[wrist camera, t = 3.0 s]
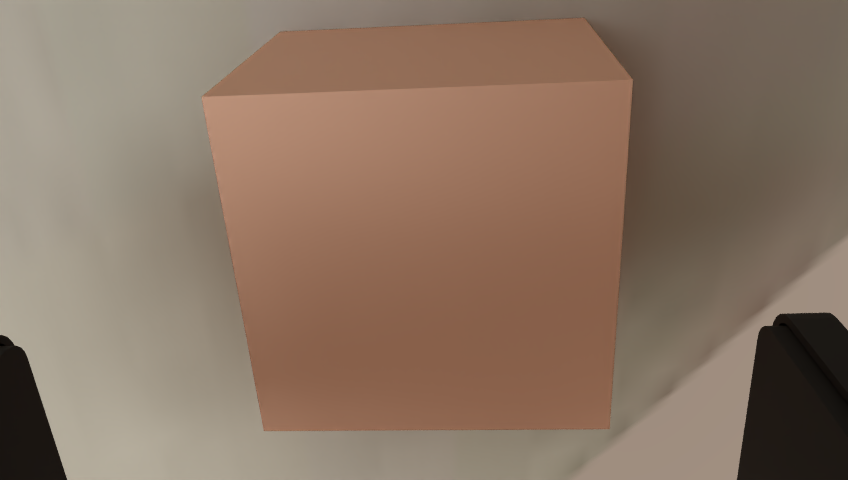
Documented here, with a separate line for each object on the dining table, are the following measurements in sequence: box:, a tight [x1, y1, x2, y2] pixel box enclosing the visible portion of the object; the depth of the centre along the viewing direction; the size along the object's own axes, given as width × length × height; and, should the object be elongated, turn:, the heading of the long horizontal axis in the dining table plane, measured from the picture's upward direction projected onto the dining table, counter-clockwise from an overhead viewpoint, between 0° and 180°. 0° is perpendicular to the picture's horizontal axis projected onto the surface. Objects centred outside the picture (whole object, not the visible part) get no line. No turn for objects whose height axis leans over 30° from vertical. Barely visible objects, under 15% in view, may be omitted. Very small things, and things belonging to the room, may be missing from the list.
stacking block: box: [202, 18, 633, 431], centre depth 14 cm, size 6×6×5 cm
